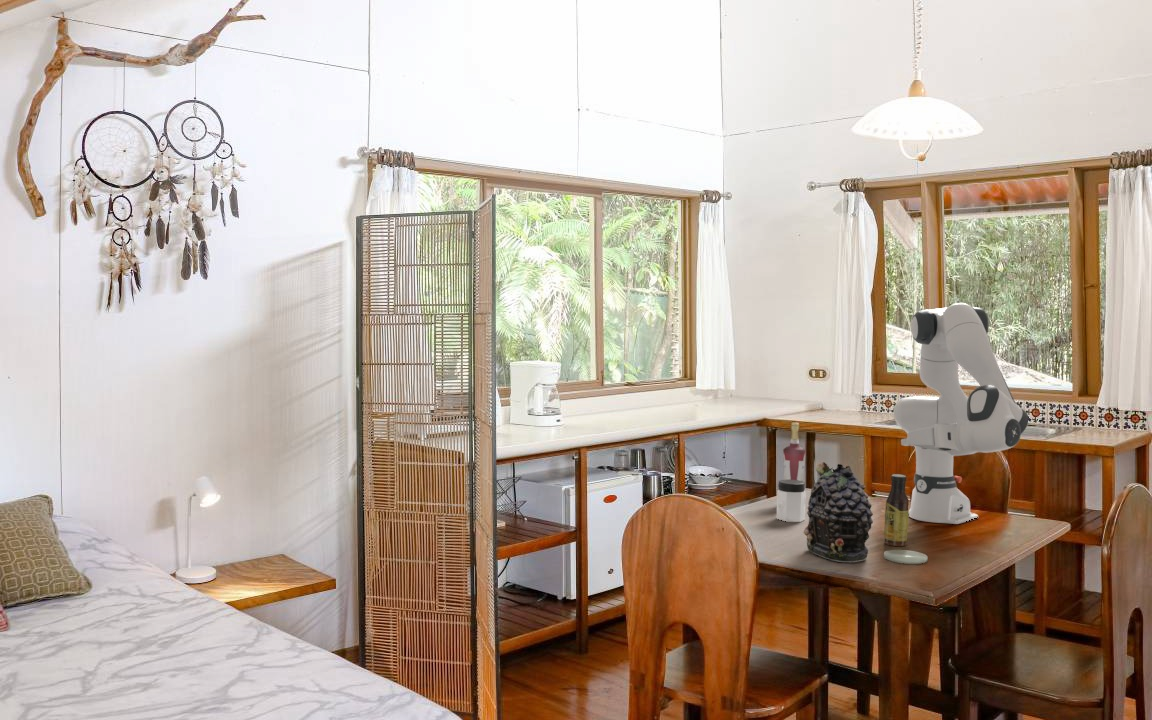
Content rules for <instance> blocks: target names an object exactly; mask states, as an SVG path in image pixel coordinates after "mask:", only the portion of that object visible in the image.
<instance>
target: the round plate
mask: <svg viewBox="0 0 1152 720" xmlns="http://www.w3.org/2000/svg"><path fill="white" fill-rule="evenodd" d="M883 558H884V559H885V560H887V561H889V562H893V563H897V564H903V563H904V564H903V565H922V563H923V564H926V563H928V555H926V554H925V553H923V552H919V551H914V550H908V549H907V550H906V549H889V550H885V551H884V553H883ZM925 562H926V563H925Z"/></svg>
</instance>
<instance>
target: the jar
mask: <svg viewBox="0 0 1152 720" xmlns="http://www.w3.org/2000/svg"><path fill="white" fill-rule="evenodd" d="M776 492H777V493H776V519H777V520H778V519H779V521H781V520H782V521H783V522H785V521H786V523H801V522H803V521H805V520H806V508H807V507H806V501H807V500H806V499H807V498H806V497H807V490H806V482H805V481H804V480H803V481H799V480H784V479H780V480H779V481H778V489H777V490H776Z"/></svg>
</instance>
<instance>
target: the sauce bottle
mask: <svg viewBox="0 0 1152 720" xmlns="http://www.w3.org/2000/svg"><path fill="white" fill-rule="evenodd" d="M890 481H891V487H890V491H889V493H888V496H887V498H886V501H885V511H884V527H883V528H884V530H883V533H884V534H883V538H884V544H886V545H888V546H890V547H904V546H906V545H907V540H908V528H909V527H908V526H909V513H908V512H909V510H910V508H909V502H910V501H909V498H908V496H907V494H906V481H907V476H906V475H904V474H898V473H896V474H895V473H894V474H892V475H891V476H890Z"/></svg>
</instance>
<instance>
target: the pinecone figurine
mask: <svg viewBox="0 0 1152 720" xmlns="http://www.w3.org/2000/svg"><path fill="white" fill-rule="evenodd" d="M815 471H816V482H814V484H813V487H812V488H811V489H810V496H809V499H808V506H807V511H806V514H807V515H808V524H807V526H806V527H805V528H804V530H803V531H802V533H803V534H804V535H805V536H806V547H807V550H808V551H809V552H810V553H812V554H815V555H818V556H819V557H821V558H823V559H828V560H830V561H834V562H837V563H838V562H839V563H857V562H862V561H866V560H867V557H868V553H869V549H868V547H867V546H866V542H867V540H869V538H870V535H869V531H870V530H871V529H872V524H873V523H874V520H873V519H872V517H873V515H874V513H873V511H872V510H871V509H872V503H871V502H870V501H869V495H868V494H867V493H866V492H865V489H866V485H864V484H862V483H861V482H860V481H859V479H858V478H857V477H856V476H855V474H854V472H852V468H851V467H850V466H849V465H847V466H845V467H844V465H843V464H842V463H840V464H839V463H838V464H837V467H836V468H835V469H834V468H833V467H832V468H830V466H829V465H828V464H827V463H826V462H824V461H821V462H819V463H818V464H816V466H815Z"/></svg>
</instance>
